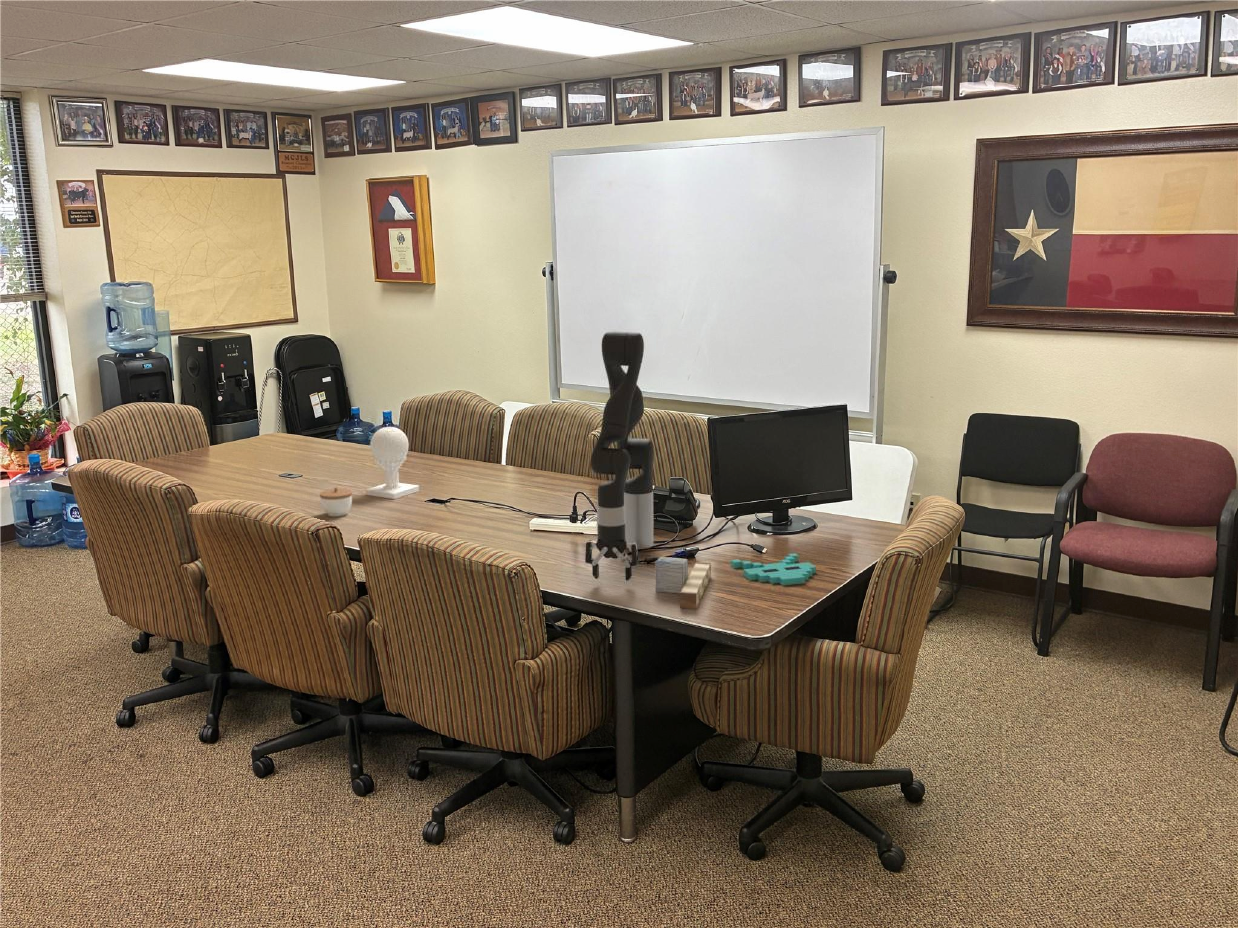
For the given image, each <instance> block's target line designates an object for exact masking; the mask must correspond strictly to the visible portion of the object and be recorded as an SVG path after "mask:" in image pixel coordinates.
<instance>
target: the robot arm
mask: <svg viewBox="0 0 1238 928" xmlns="http://www.w3.org/2000/svg"><path fill="white" fill-rule="evenodd" d="M644 350H645V342H644V337H643V335H642V333H640V332H636V331H623V330H622V331H621V330H619V331H617V330H611V331H610V330H609V331H607V332H604V335H603V336H602V339H601V355H602V360H603V364H604V369H605V372H606V376H607V382H608V387H609V388H608V389H609V396H610V397H609V398H608V400H607V401H606V403H605V405H604V408H603V414H602V420H601V428H600V432H599V436H598V439H597V441H596V443H595V445H594V448H593V450H592V453H591V456H590V460H589V463H590V464H589V465H590V468H591V470H592V472H594V473H595V474H598V475H610V476H611V475H613V476H614V480H612V481H611V480H610V481H606V482H602V483H600V484H599V485H598V486H597V512H596V516H597V517H596V523H597V525H596V527H597V529H596V531H597V541H593V540H592V539H589V540H587V541H586V543H585V555H584V556H585V557H584V561H585V564H590V565H591V567H592V577H594V579H596V580H598V579H599V578H600V564H599V561H600V560H601V559H602V557H604V558H605V559H614V560H615V559H616V560H617V559H619V560H620V562H622V563H623V564H624V566H625V569H624V570H625V571H624V572H625V574H624V575H625V577H624V578H625V581H629V580H630V579H631V578H632V576H633V575H632V574H633V572H632V571H633V567H635V566H637V565H638V563H639V562H640V560H639V550H645V549H650V548H652V547H653V546H654V460H655V459H654V458H655V449H654V447H655V445H654V442H653V440H652V439H650V438H632V437H631V438H630V437H629V436H630V434H631V433H632V431H633V430H634V429H635V427H636V426H637V425H638V424H639V423H640V422H641V420H642V418H643V416H644V413H645V405H644V396H643V393H642V390H641V388H640V387H639V386H638V379H639V375H640V372H641V371H640V370H641V367H642V363H643V358H644ZM622 366H623V367H627V370H626V371H625V370H624V369H623V367H622ZM614 443H616V448H615V447H611V448H610V446H611V445H612V444H614ZM629 470H642V472H641V473H640V474H638V475H636V476H633V477H631V478H628V479H627V476H628V473H629ZM595 547H596V549H597V550H598V551H599V552H598V554H597V555H596V557H595V558H593V557H592V556H593V550H594V548H595ZM626 549H628V551H629V552H630V553H631V559H630V557H629V555H628V554H627V552H626V551H625V550H626Z"/></svg>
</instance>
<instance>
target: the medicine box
mask: <svg viewBox="0 0 1238 928" xmlns="http://www.w3.org/2000/svg"><path fill="white" fill-rule="evenodd" d="M654 562H655V564H654V565H655V592H656V593H657V592H659V593H669V594H678V595H680V592H681V591H682V589H683V587H684V585H685V583H686V581H687V579H688V578H689V576H688V573H689V572H688V571H689V569H688V568H689V567H688V566H689V565H688V562H689V559H687V558H680V557H670V556H669V557H667V556H660V557H659V558H658V559H657V560H656V561H654Z"/></svg>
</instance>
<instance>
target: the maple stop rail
mask: <svg viewBox="0 0 1238 928" xmlns="http://www.w3.org/2000/svg"><path fill="white" fill-rule="evenodd" d="M711 575H712V562H700V561H696V562H695V563H694V566H693V567H692V570H691V572H690V574H689V576H688V579H687V581H686V583H685V585H684V587H683V589H682V591H681V592H680V594H679V606H680V607H679V608H680V609H688V610H689V609H690V610H697V608H698V605H699V603H700V601H701V598H702V596H703V594H704V592H705V590H706V588H707V585H708V583H709V581H710V579H711V578H712V576H711Z"/></svg>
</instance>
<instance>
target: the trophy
mask: <svg viewBox="0 0 1238 928" xmlns="http://www.w3.org/2000/svg"><path fill="white" fill-rule="evenodd" d="M369 445H370V451H371V454H372V456H373V458H374V461H375V463H376V464H378V465H379V467H380V468H382V469H383V470H384V482H385V483H383V484H379V485H376V486H374V487H370V488H367V489H365V494H366V496H371V497H378V498H385V499H391V500H396V499H399V498H402V497H405V496H408V495H411V494H414V493H417V492H419V491H420V485H418V484H417V485H416V484H409V483H401V482H400V480H399V479H400V478H399V469H400V467H402V465H403V464H404V462H405V461H406V460H407V459H408V457H407V454H408V451H409V447H410V446H409V445H410V443H409V439H408V437H407V435H406V434H405V432H403V430H401V429H399V428H397V427H394V426H384V427H381V428H379V429H378V430H377V431H375V433H374V434H373V435H372V436H371V439H370V444H369Z"/></svg>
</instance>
